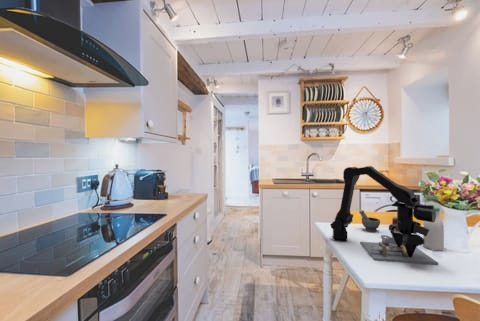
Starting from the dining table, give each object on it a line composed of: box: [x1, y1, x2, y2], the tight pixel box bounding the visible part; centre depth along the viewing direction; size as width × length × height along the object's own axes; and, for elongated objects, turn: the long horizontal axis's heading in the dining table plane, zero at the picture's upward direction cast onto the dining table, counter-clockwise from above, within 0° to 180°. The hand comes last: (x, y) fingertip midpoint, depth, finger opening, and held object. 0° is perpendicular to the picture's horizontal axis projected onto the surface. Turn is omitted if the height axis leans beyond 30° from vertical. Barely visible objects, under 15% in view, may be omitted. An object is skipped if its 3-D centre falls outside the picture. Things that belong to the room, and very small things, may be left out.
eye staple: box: [378, 241, 386, 257], centre depth 106 cm, size 1×5×6 cm, turn 168°
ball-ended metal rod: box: [380, 234, 404, 245], centre depth 115 cm, size 12×4×4 cm, turn 51°
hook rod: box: [370, 245, 408, 256], centre depth 105 cm, size 15×4×4 cm, turn 79°
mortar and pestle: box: [358, 210, 381, 233], centre depth 142 cm, size 11×9×12 cm
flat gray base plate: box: [359, 241, 439, 266], centre depth 109 cm, size 24×20×1 cm
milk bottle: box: [422, 206, 445, 252], centre depth 115 cm, size 8×8×20 cm
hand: (404, 252), depth 104 cm, fingers open, 9 cm apart
